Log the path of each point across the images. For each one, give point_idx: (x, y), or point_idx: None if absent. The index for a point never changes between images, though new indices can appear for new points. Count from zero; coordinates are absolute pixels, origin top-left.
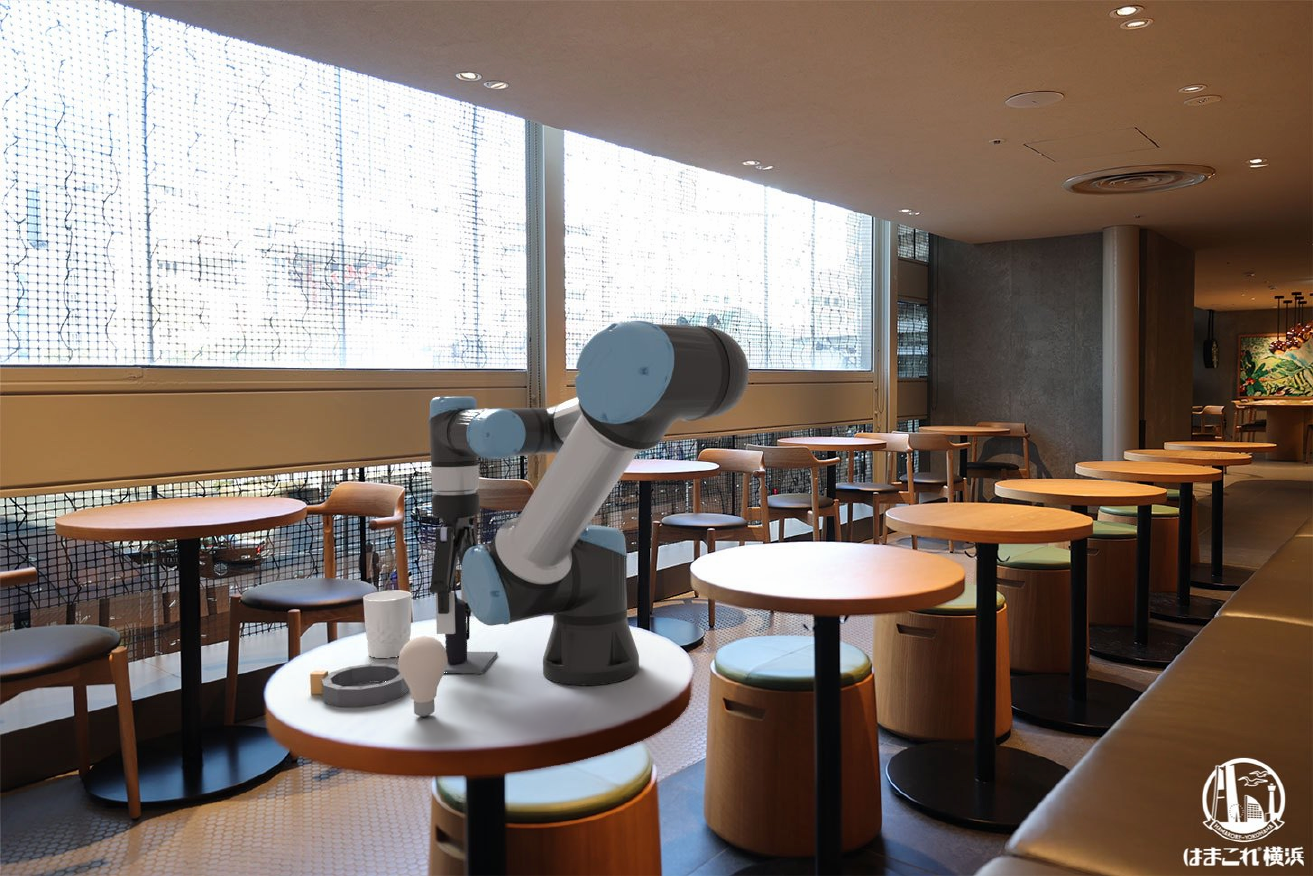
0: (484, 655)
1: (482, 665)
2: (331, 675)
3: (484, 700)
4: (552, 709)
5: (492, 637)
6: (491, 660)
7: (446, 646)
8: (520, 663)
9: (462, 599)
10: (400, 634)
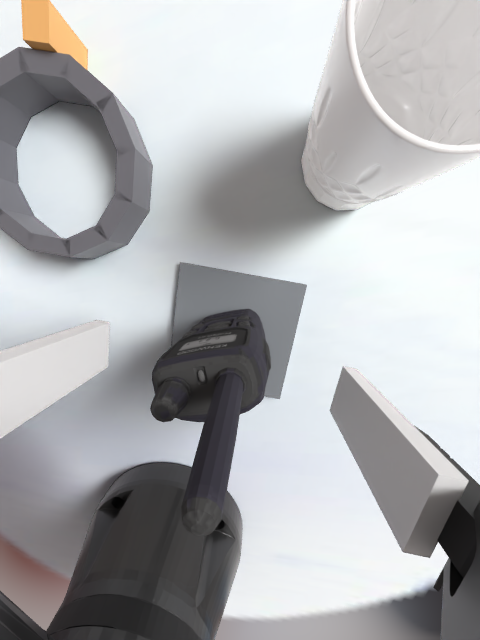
0: None
1: None
2: (47, 65)
3: None
4: (20, 464)
5: (418, 381)
6: None
7: (205, 320)
8: None
9: (360, 391)
10: (324, 178)
